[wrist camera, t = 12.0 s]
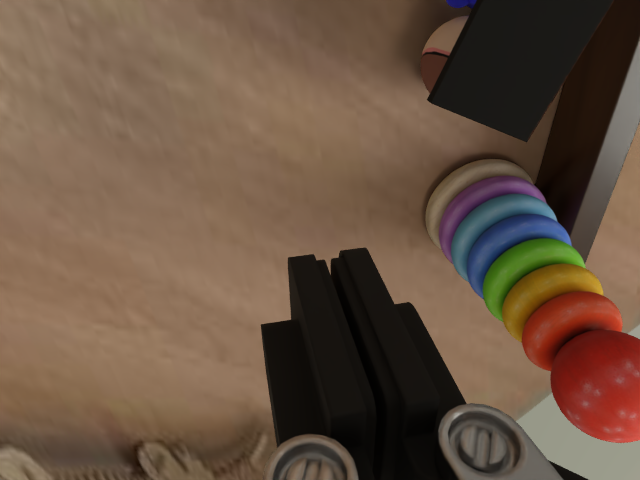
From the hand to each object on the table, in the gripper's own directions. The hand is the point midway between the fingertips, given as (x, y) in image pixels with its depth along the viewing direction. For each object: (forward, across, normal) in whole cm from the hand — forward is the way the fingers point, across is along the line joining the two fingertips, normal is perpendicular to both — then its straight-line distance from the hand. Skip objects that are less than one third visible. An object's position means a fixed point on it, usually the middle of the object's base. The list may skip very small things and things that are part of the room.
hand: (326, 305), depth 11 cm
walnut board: (+20, -21, +5) cm, 30 cm away
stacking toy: (+21, -16, +11) cm, 28 cm away
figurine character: (+21, -14, -4) cm, 25 cm away
